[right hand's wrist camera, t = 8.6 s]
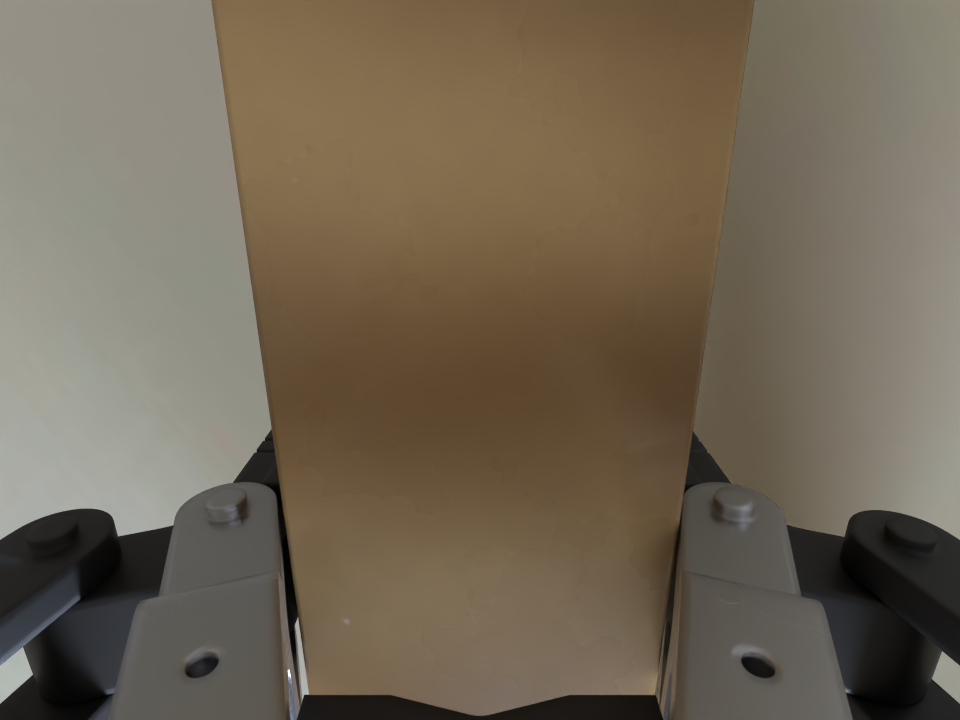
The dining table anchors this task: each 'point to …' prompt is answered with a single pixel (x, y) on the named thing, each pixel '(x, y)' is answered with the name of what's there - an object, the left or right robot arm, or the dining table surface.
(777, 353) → the dining table surface
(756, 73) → the dining table surface
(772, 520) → the right robot arm
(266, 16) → the bar
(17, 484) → the dining table surface
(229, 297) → the dining table surface
